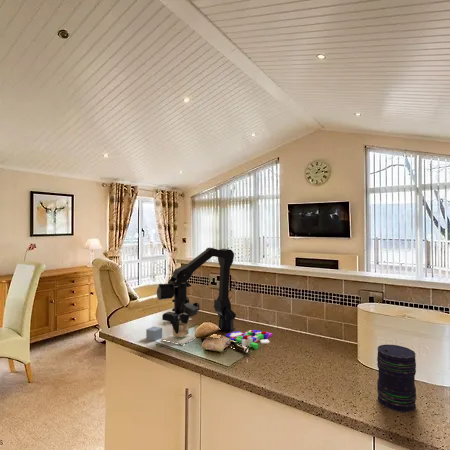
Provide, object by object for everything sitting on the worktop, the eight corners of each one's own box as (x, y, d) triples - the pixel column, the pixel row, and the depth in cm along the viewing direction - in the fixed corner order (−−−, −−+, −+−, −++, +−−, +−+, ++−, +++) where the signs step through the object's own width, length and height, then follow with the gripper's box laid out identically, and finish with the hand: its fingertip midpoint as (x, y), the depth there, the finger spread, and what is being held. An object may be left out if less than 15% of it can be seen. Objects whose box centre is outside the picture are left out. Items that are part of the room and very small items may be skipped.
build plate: (199, 337, 146) (199, 335, 146) (183, 345, 136) (183, 343, 136) (178, 333, 152) (178, 330, 152) (161, 340, 142) (161, 338, 142)
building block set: (246, 329, 159) (246, 320, 159) (281, 339, 145) (281, 329, 145) (209, 342, 141) (209, 332, 141) (245, 355, 127) (245, 344, 127)
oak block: (179, 332, 147) (179, 322, 147) (188, 333, 145) (188, 323, 145) (172, 335, 143) (172, 325, 143) (181, 337, 140) (181, 326, 140)
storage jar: (405, 394, 96) (405, 344, 96) (423, 413, 87) (423, 358, 87) (371, 393, 97) (371, 344, 97) (385, 411, 87) (385, 357, 87)
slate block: (162, 337, 146) (162, 328, 146) (154, 341, 142) (154, 331, 142) (154, 336, 148) (154, 326, 148) (146, 339, 144) (146, 329, 144)
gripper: (182, 303, 132) (182, 341, 132) (206, 295, 148) (206, 328, 148) (161, 300, 137) (161, 336, 137) (187, 292, 154) (187, 325, 154)
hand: (180, 331), depth 144 cm, fingers closed on oak block, 5 cm apart
